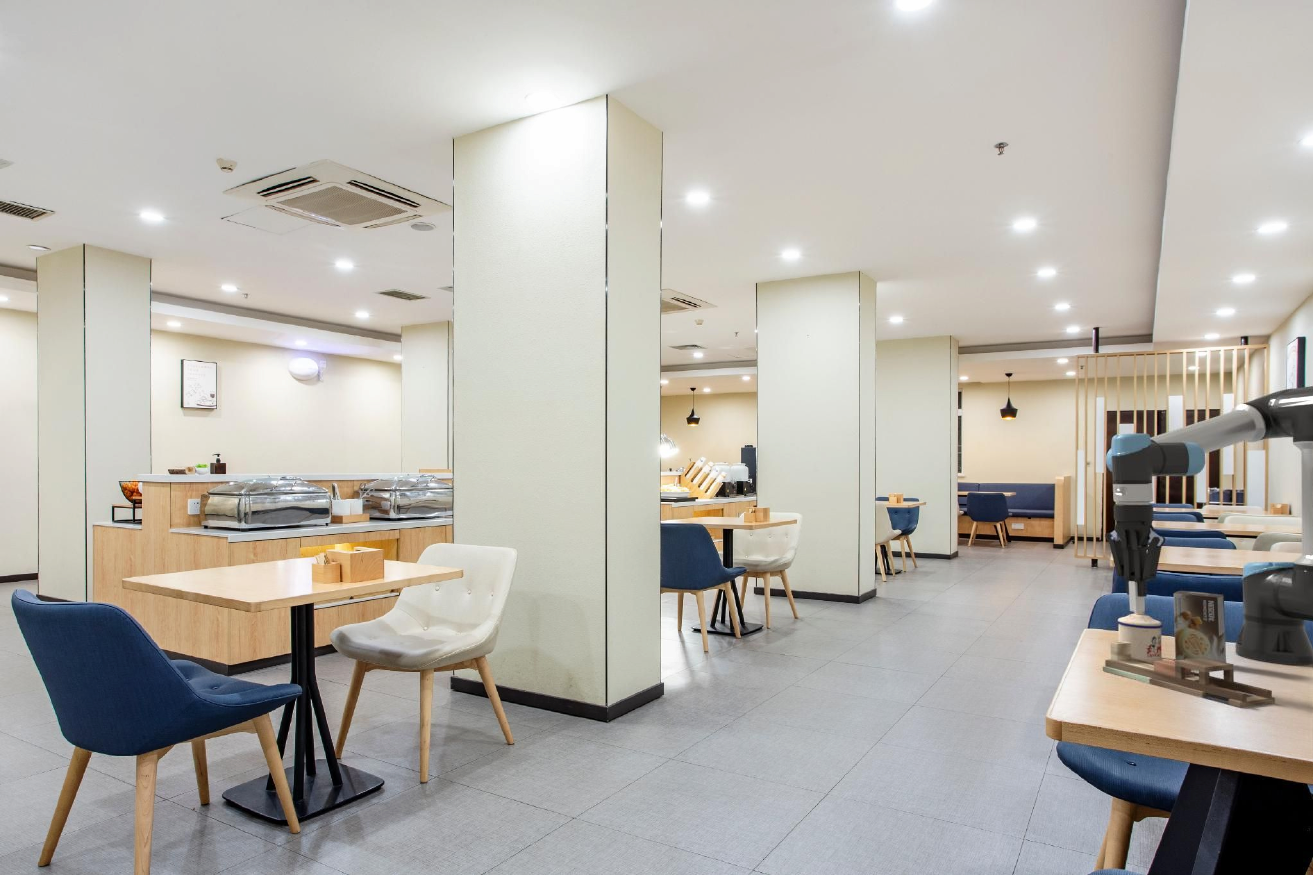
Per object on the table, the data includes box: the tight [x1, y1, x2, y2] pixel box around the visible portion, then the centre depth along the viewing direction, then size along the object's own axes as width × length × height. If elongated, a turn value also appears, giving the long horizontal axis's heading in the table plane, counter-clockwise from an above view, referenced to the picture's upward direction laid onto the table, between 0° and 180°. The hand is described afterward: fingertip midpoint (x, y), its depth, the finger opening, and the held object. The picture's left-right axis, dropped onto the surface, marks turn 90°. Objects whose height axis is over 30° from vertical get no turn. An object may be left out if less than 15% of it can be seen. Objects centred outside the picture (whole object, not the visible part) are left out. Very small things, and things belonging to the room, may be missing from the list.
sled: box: [1110, 641, 1199, 682], centre depth 169 cm, size 4×19×5 cm, turn 21°
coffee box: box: [1173, 590, 1227, 663], centre depth 185 cm, size 9×6×16 cm
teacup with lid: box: [1117, 611, 1163, 662], centre depth 188 cm, size 12×9×12 cm
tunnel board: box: [1102, 657, 1276, 708], centre depth 163 cm, size 10×29×6 cm, turn 21°
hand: (1137, 610), depth 174 cm, fingers closed
